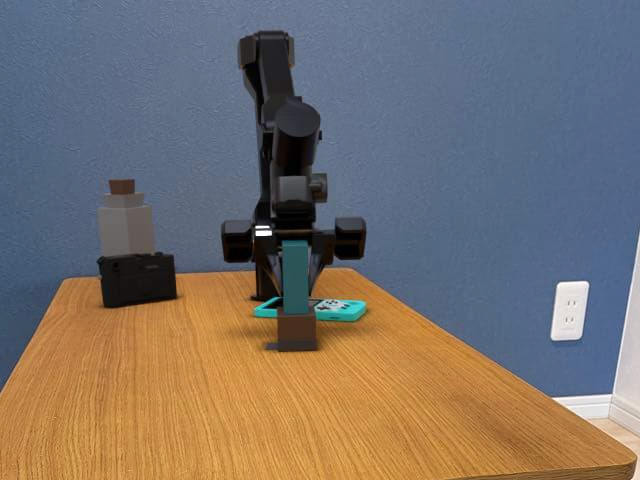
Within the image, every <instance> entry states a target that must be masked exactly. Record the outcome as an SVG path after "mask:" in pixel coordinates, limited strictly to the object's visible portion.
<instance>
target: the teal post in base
mask: <svg viewBox="0 0 640 480" xmlns="http://www.w3.org/2000/svg"><path fill="white" fill-rule="evenodd" d="M281 253H282V266H283V305H284V307H277V318H276V329H277V331H276V332H277V343H278V349H277V351H278V352H292V351H293V352H297V351H298V352H300V351H301V352H304V351H317V320H316V313H315V308H314V306H309V298H310V297H309V283H308V275H309V248H308V244H307V240H291V241H282V252H281Z"/></svg>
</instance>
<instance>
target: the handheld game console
mask: <svg viewBox="0 0 640 480" xmlns="http://www.w3.org/2000/svg"><path fill="white" fill-rule="evenodd" d="M309 306H314V308H315V313H316V321H334V322H335V321H336V322H337V321H338V322H356V321H357V320H358V319H360V318H361V317H362V316H363V315H365V313H366V311H367V303H366V302H365V301H363V300H353V299H331V298H311V297H309ZM277 307H284V305H283V297H275V298H273V299H271V300H269V301H266V302H264V303H263V304H260V305H258V306H256V307H255V308H254V317H257V318H276V319H277Z"/></svg>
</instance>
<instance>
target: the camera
mask: <svg viewBox="0 0 640 480" xmlns="http://www.w3.org/2000/svg"><path fill="white" fill-rule="evenodd" d="M154 254H155V255H151V254H150V253H144V254H141V255H140V254H138V253H134V254H125V255H116V256H107V257H104V256H100V257H98V259H96V265H98V272H99V274H98V275H97V276H96V278H97V280H99V282H100V290H101V298H102V305H103V307H104V308H107V309H115V308H123V307H130V306H137V305H143V304H151V303H158V302H164V301H165V302H166V301H172V300H176V299H177V298H178V289H177V276H176V271H177V270H178V267H177V266H176V265H175V255H174V254H171V253H164V252H163V251H155V253H154Z"/></svg>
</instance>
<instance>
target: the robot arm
mask: <svg viewBox="0 0 640 480" xmlns="http://www.w3.org/2000/svg"><path fill="white" fill-rule="evenodd" d="M236 51H237V52H236V53H237V67H238V70H242V83H243V87H244V88H245V89H246V91H247V92H248V94H249V95H250V97H251V98H252V100H253V102H254V116H255V118H254V119H255V132H256V148H257V162H258V176H259V177H258V178H259V192H260V197H259V198H258V201H257V203H256V205H255V207H254V210H253V213H252V216H251V219H248V218H247V219H225V220H224V221H223V222H222V223H221V225H220V240H221V247H222V248H221V249H222V256H223V262H225V263H226V264H227V263H228V264H246V263H249V262H250V263H251V264H254V269H255V271H254V272H255V294H252V295H250V296H249V297H250V300H256V301H257V300H258V301H266V302H267V301H269V300H271V299H273V298H275V297H283V266H282V241H291V240H307V244H308V249H310V257H309V265H308V283H309V298H311V297H312V295H313V293H314V290H315V287H316V284H317V282H318V279H319V277H320V276H321V274H322V273H323V271H324V269H325V268H326V266H331V265H333V263H334V260H335V259H334V257H335V258H336V259H338V260H339V261H359V260H362V259H363V258H364V257H365V249H366V243H367V233H368V232H367V231H368V229H367V221H366V220H365V219H364V218H363V217H362V216H336V217H335V218H334V229H324V228H323V227H316V223H317V208H316V204H326V203H327V202H328V197H329V196H328V195H329V193H328V192H329V190H328V188H329V187H328V172H319V173H315V172H314V173H313V165H314V163H315V160H316V157H317V150H318V146H319V142H321V141H323V130H321V124H322V123H321V121H322V120H321V119H322V118H321V114H320V113H319V112H318V110H317V109H316V108H315V107H314V106H312V105H310V104H308V103H305V102H304V101H303V96H302V95H296V93H295V87H294V81H293V75H292V69H293V68H294V66H295V65H296V60H295V59H296V58H295V53H296V52H295V38H294V37H293V36H290V35H289V32H288V31H284V30H283V29H261V30H260V29H259V30H257V31H256V32H253V33H252V34H245V35H244V37H241V38H239V40H238V42H237V47H236Z"/></svg>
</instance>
